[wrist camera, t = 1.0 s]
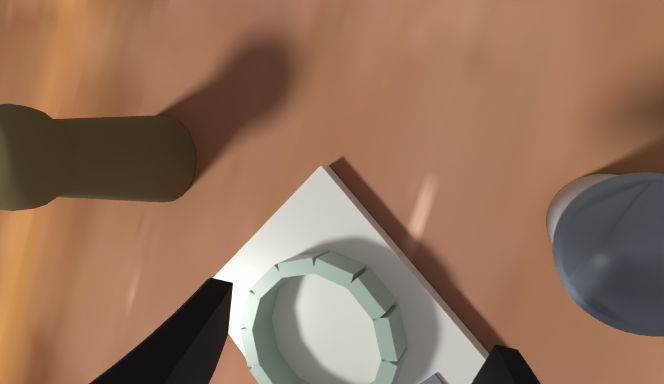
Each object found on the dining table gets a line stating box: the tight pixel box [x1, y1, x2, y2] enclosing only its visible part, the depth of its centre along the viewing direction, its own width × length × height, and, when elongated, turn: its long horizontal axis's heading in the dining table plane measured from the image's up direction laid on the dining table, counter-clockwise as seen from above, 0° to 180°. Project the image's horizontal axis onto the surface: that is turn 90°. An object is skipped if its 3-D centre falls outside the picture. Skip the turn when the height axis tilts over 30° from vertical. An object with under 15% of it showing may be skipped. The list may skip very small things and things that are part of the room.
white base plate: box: [213, 165, 489, 384], centre depth 22 cm, size 18×12×3 cm, turn 43°
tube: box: [546, 172, 664, 336], centre depth 15 cm, size 5×5×7 cm
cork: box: [0, 104, 196, 211], centre depth 24 cm, size 6×6×11 cm
